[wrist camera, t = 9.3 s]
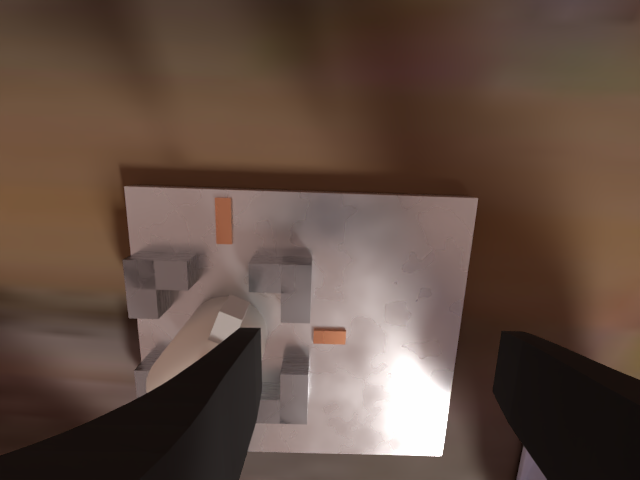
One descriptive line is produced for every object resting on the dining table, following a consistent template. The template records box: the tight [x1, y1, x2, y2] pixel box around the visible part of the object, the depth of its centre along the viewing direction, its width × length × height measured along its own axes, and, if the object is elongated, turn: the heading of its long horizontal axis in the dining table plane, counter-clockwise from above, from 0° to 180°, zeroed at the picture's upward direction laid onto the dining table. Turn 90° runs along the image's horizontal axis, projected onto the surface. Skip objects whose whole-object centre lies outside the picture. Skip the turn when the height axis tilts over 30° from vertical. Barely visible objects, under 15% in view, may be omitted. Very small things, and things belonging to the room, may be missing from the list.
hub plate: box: [123, 185, 478, 456], centre depth 19 cm, size 16×18×2 cm
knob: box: [146, 294, 268, 393], centre depth 17 cm, size 6×4×5 cm
